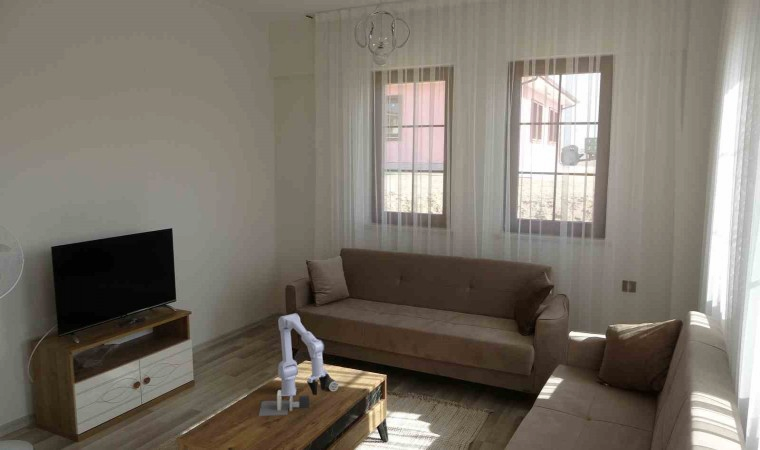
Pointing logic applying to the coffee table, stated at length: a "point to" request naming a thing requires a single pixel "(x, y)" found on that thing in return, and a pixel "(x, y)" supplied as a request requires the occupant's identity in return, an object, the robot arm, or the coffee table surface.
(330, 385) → the flashlight
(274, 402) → the mat
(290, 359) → the robot arm
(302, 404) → the mounted block
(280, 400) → the cream rectangular block
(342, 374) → the coffee table surface
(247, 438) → the coffee table surface
